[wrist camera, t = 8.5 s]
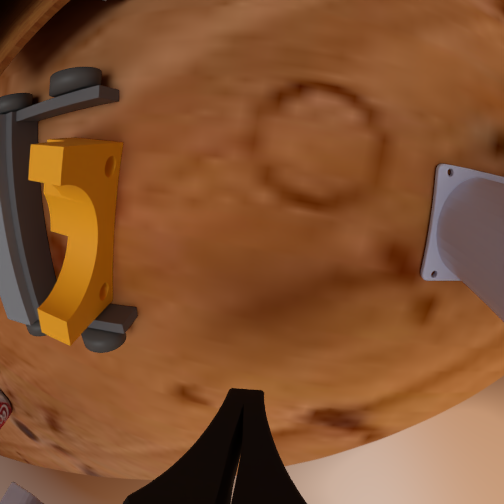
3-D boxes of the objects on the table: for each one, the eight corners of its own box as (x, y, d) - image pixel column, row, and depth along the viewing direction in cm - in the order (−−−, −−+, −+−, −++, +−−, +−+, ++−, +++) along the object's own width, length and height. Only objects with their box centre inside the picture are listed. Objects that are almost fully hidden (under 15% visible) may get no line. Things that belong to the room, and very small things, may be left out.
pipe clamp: (75, 137, 18) (12, 143, 12) (124, 142, 18) (63, 146, 12) (71, 284, 22) (24, 323, 16) (113, 299, 22) (70, 345, 16)
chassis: (120, 70, 16) (86, 59, 12) (140, 330, 22) (120, 361, 19) (3, 109, 17) (-30, 111, 13) (31, 309, 23) (7, 329, 20)
